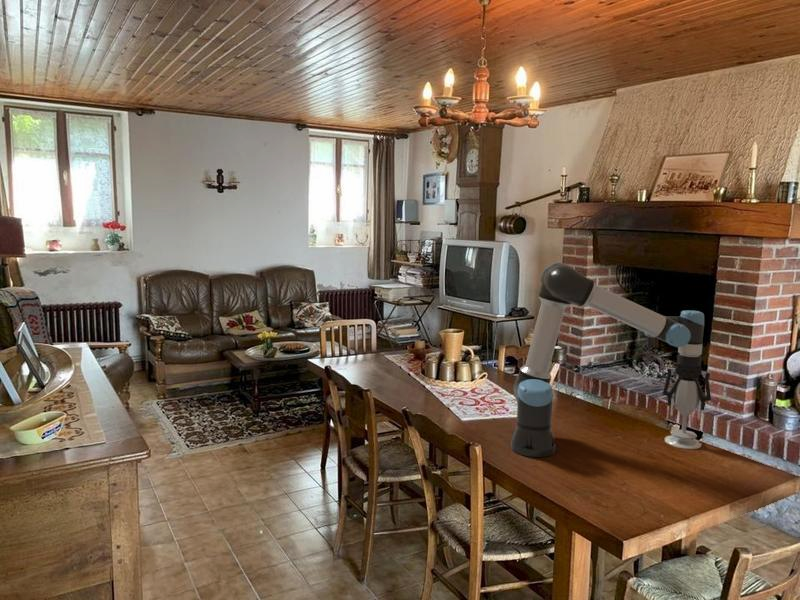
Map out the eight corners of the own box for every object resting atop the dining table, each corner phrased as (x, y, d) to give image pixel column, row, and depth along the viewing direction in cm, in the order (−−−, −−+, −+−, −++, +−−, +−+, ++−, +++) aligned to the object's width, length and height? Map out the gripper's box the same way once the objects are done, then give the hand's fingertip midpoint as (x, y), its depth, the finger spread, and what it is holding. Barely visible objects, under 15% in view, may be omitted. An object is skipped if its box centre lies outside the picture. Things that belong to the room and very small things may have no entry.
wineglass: (696, 433, 217) (701, 377, 214) (697, 441, 209) (701, 383, 206) (670, 430, 221) (674, 374, 218) (669, 437, 213) (674, 380, 210)
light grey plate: (682, 451, 208) (682, 449, 208) (657, 438, 219) (657, 437, 219) (709, 447, 212) (709, 445, 212) (683, 435, 223) (683, 433, 223)
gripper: (722, 355, 210) (717, 417, 213) (658, 349, 219) (653, 409, 222) (723, 359, 203) (718, 424, 206) (656, 353, 212) (652, 415, 215)
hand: (684, 416), depth 214 cm, fingers closed on wineglass, 8 cm apart
